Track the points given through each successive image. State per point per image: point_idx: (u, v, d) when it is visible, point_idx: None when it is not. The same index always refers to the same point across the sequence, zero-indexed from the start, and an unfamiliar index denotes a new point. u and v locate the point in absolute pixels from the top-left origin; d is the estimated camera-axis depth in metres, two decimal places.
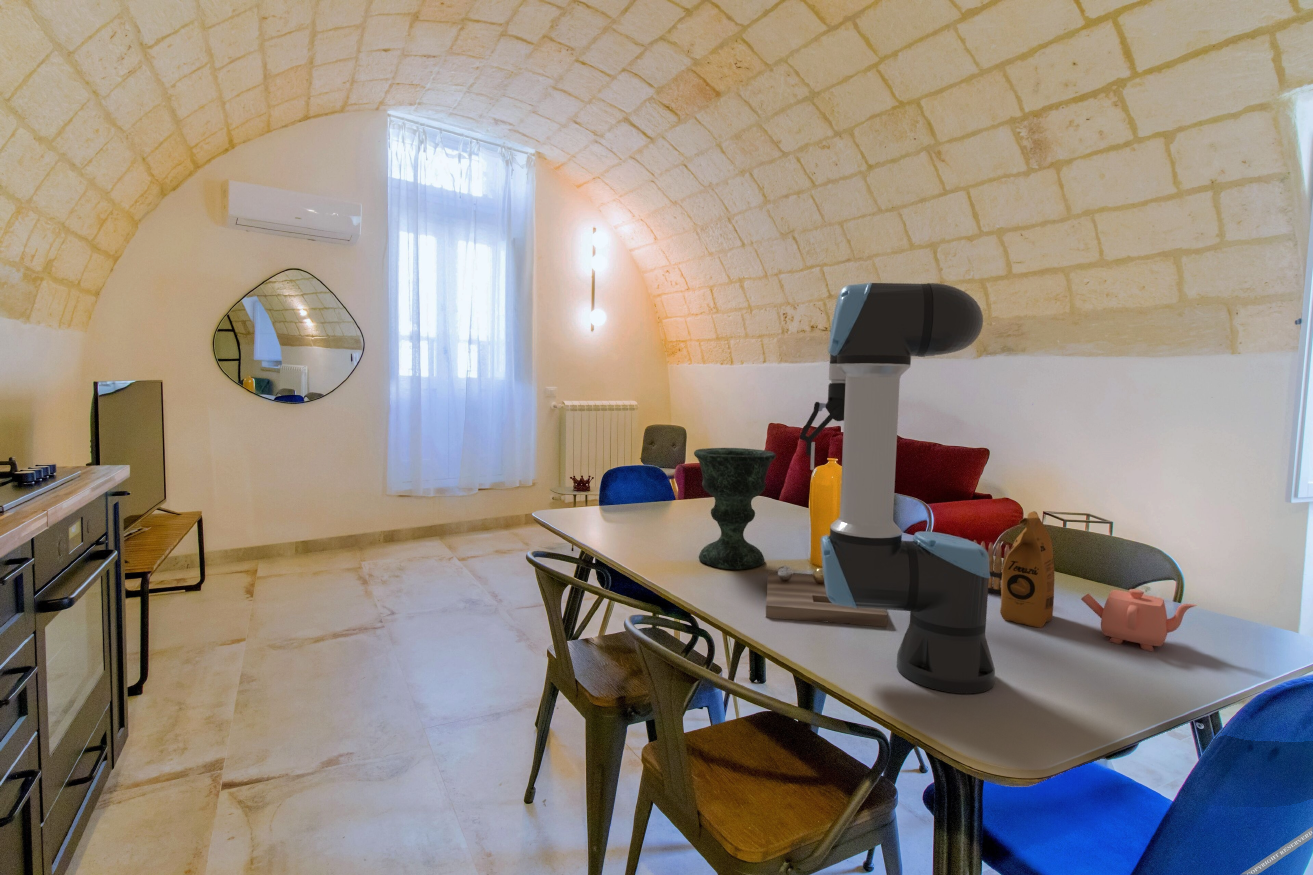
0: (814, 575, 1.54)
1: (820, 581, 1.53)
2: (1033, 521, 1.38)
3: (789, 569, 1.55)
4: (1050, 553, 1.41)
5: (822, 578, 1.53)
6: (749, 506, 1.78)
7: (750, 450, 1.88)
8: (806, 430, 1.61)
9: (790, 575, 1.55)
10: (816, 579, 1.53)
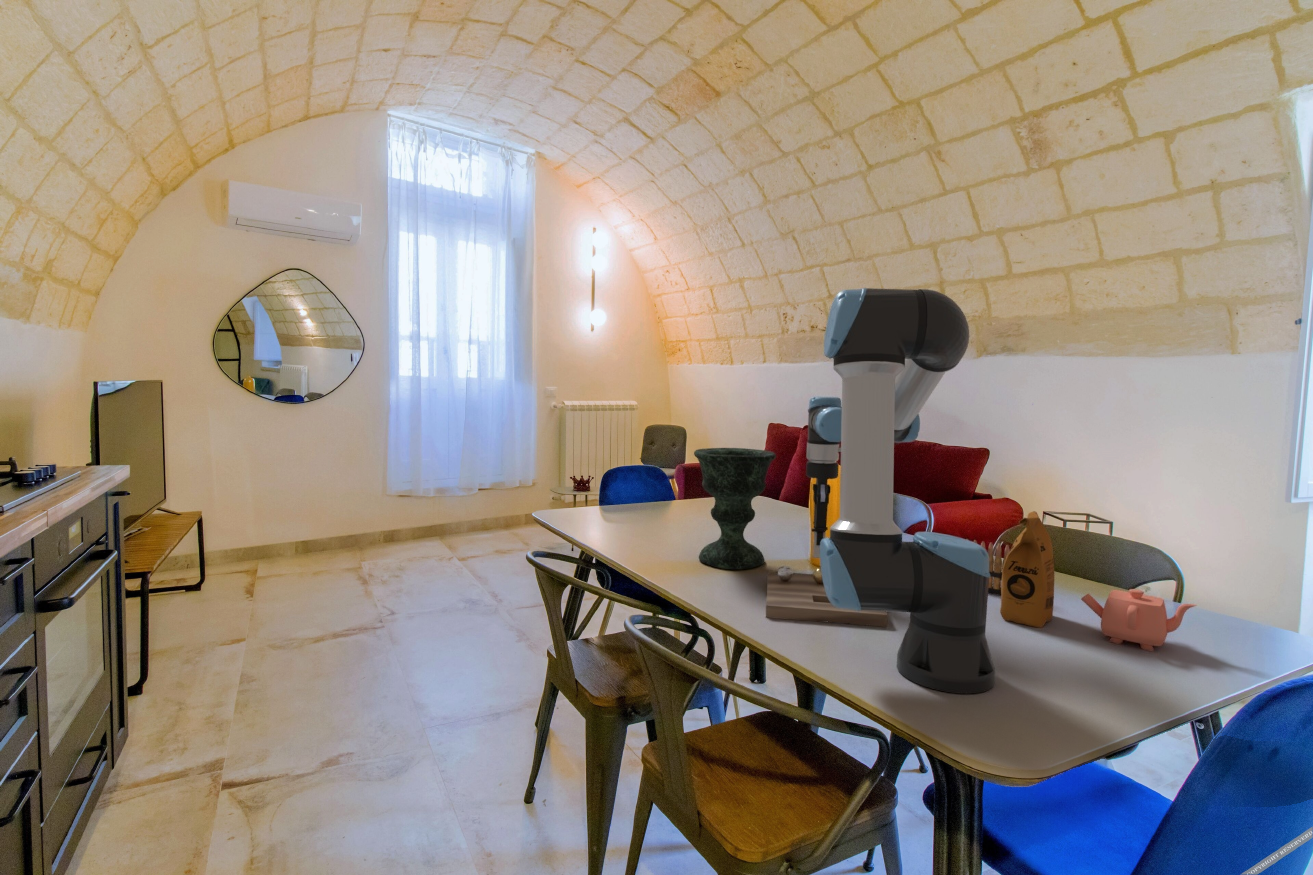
0: (814, 575, 1.54)
1: (820, 581, 1.53)
2: (1033, 521, 1.38)
3: (789, 569, 1.55)
4: (1050, 553, 1.41)
5: (822, 578, 1.53)
6: (749, 506, 1.78)
7: (750, 450, 1.88)
8: (814, 514, 1.65)
9: (790, 575, 1.55)
10: (816, 579, 1.53)
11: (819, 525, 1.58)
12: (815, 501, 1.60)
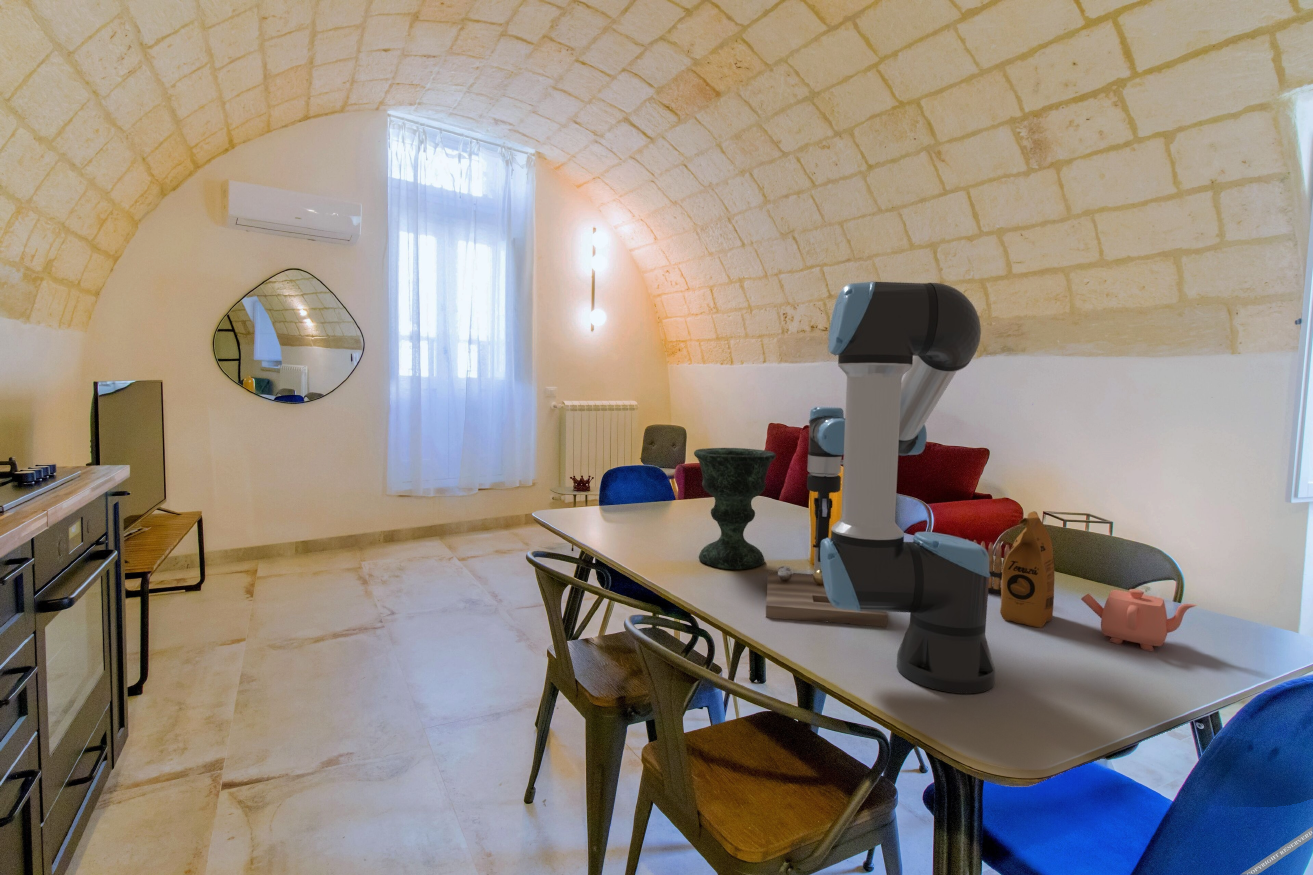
0: (814, 578, 1.53)
1: (820, 584, 1.53)
2: (1033, 521, 1.38)
3: (789, 569, 1.55)
4: (1050, 553, 1.41)
5: (822, 582, 1.52)
6: (749, 506, 1.78)
7: (750, 450, 1.88)
8: (815, 529, 1.59)
9: (790, 575, 1.55)
10: (816, 582, 1.53)
11: (821, 541, 1.51)
12: (816, 516, 1.53)
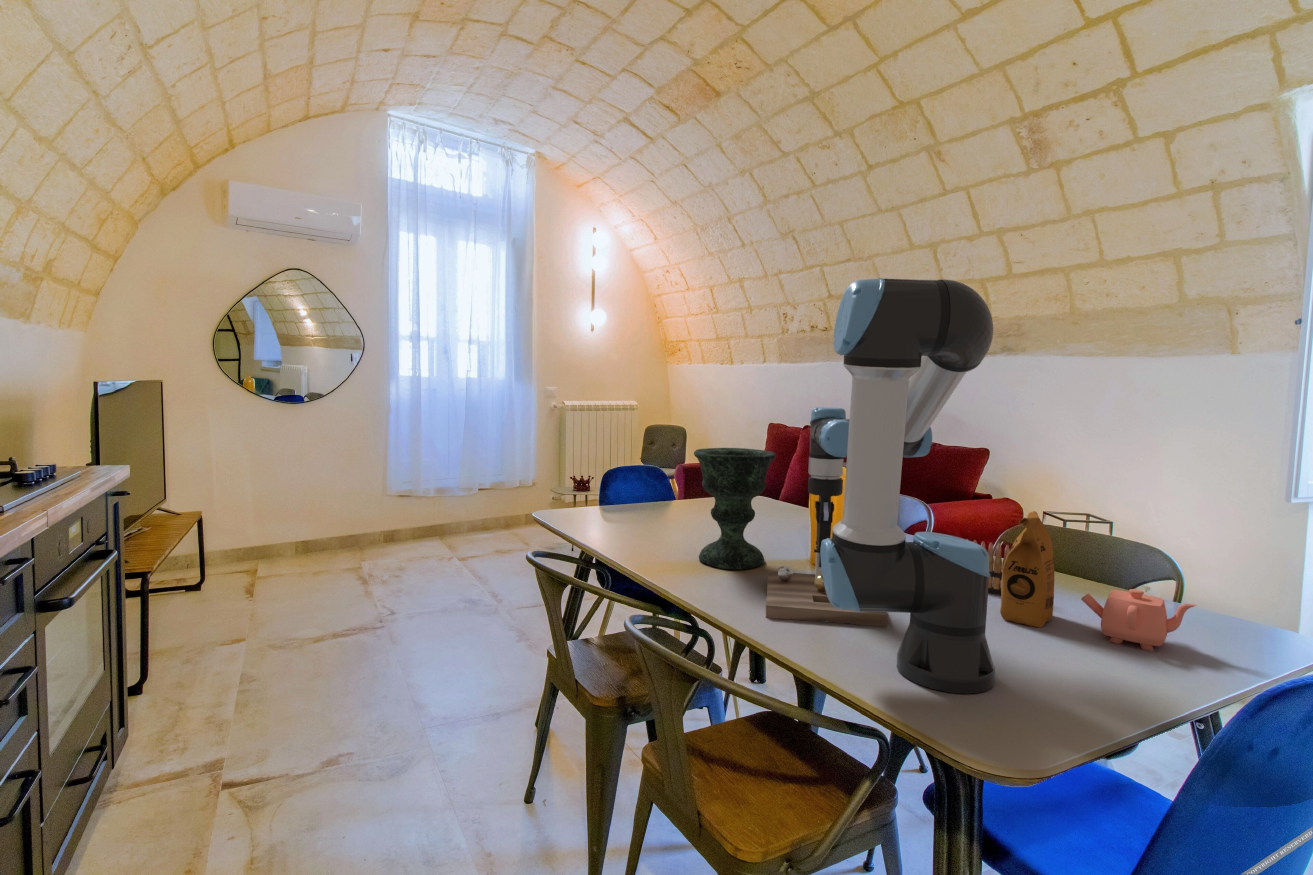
0: None
1: None
2: (1033, 521, 1.38)
3: (789, 569, 1.55)
4: (1050, 553, 1.41)
5: None
6: (749, 506, 1.78)
7: (750, 450, 1.88)
8: None
9: (790, 575, 1.55)
10: None
11: None
12: (818, 520, 1.49)
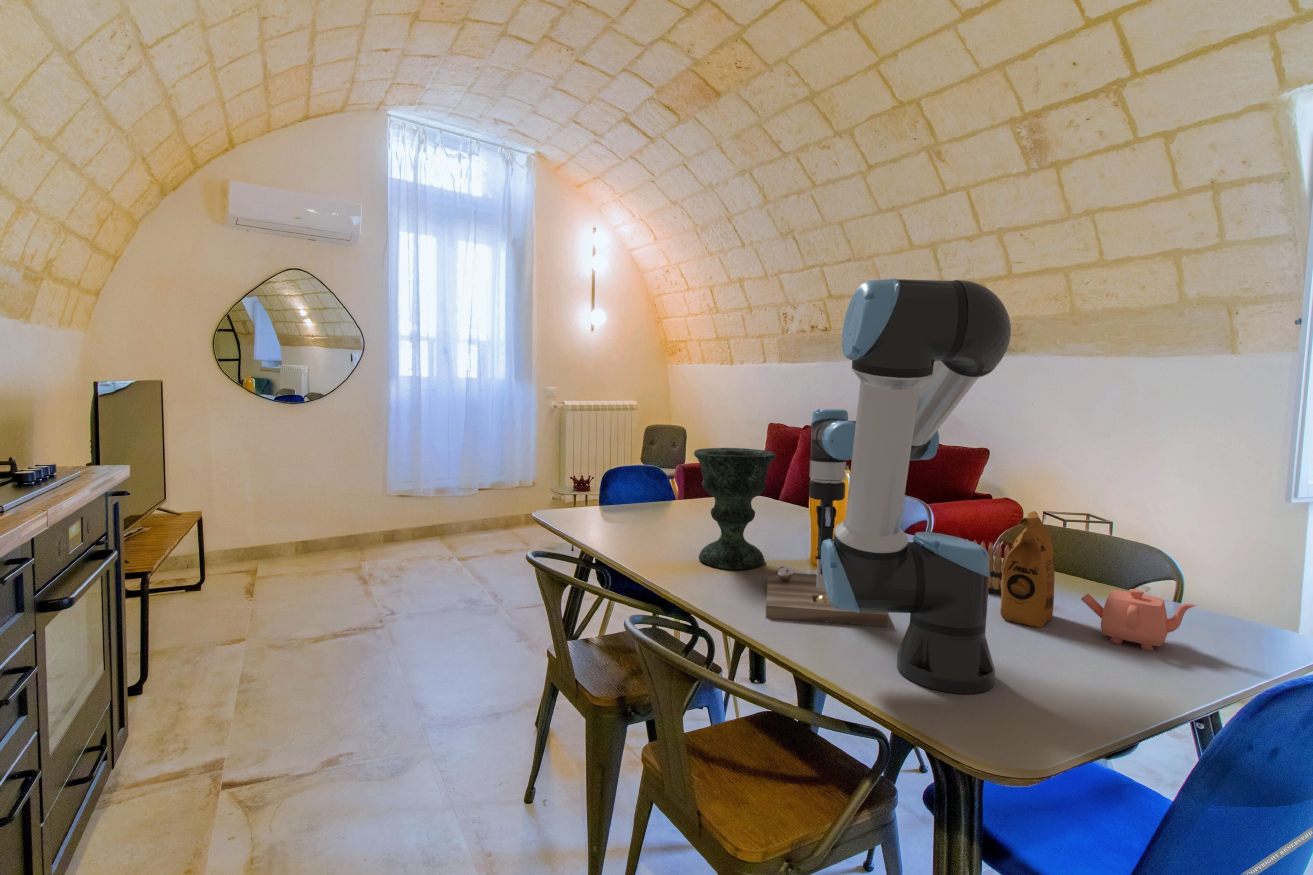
0: None
1: None
2: (1033, 521, 1.38)
3: (789, 569, 1.55)
4: (1050, 553, 1.41)
5: None
6: (749, 506, 1.78)
7: (750, 450, 1.88)
8: (818, 539, 1.49)
9: (790, 575, 1.55)
10: None
11: None
12: (819, 525, 1.43)
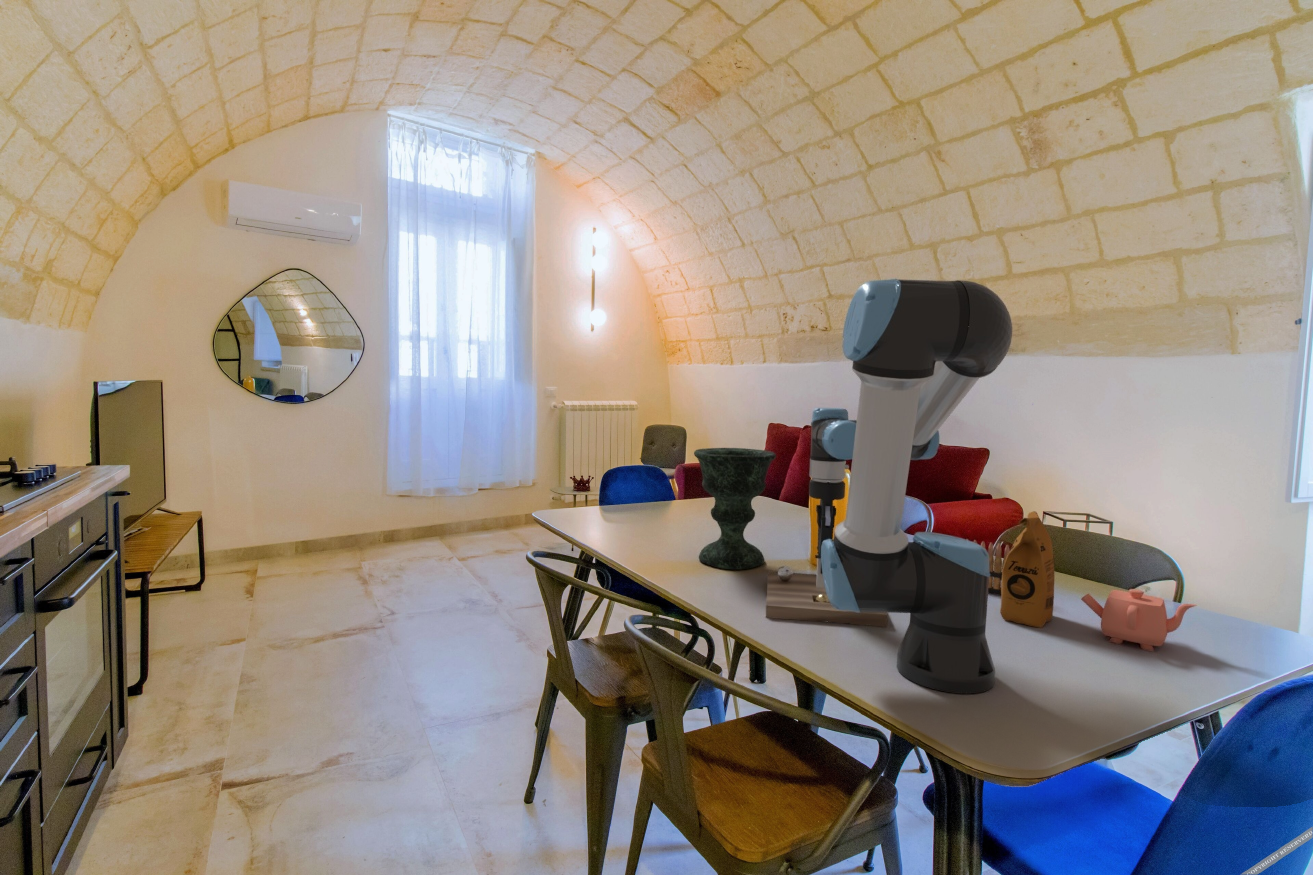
0: None
1: None
2: (1033, 521, 1.38)
3: (789, 569, 1.55)
4: (1050, 553, 1.41)
5: None
6: (749, 506, 1.78)
7: (750, 450, 1.88)
8: None
9: (790, 575, 1.55)
10: None
11: None
12: (819, 524, 1.43)
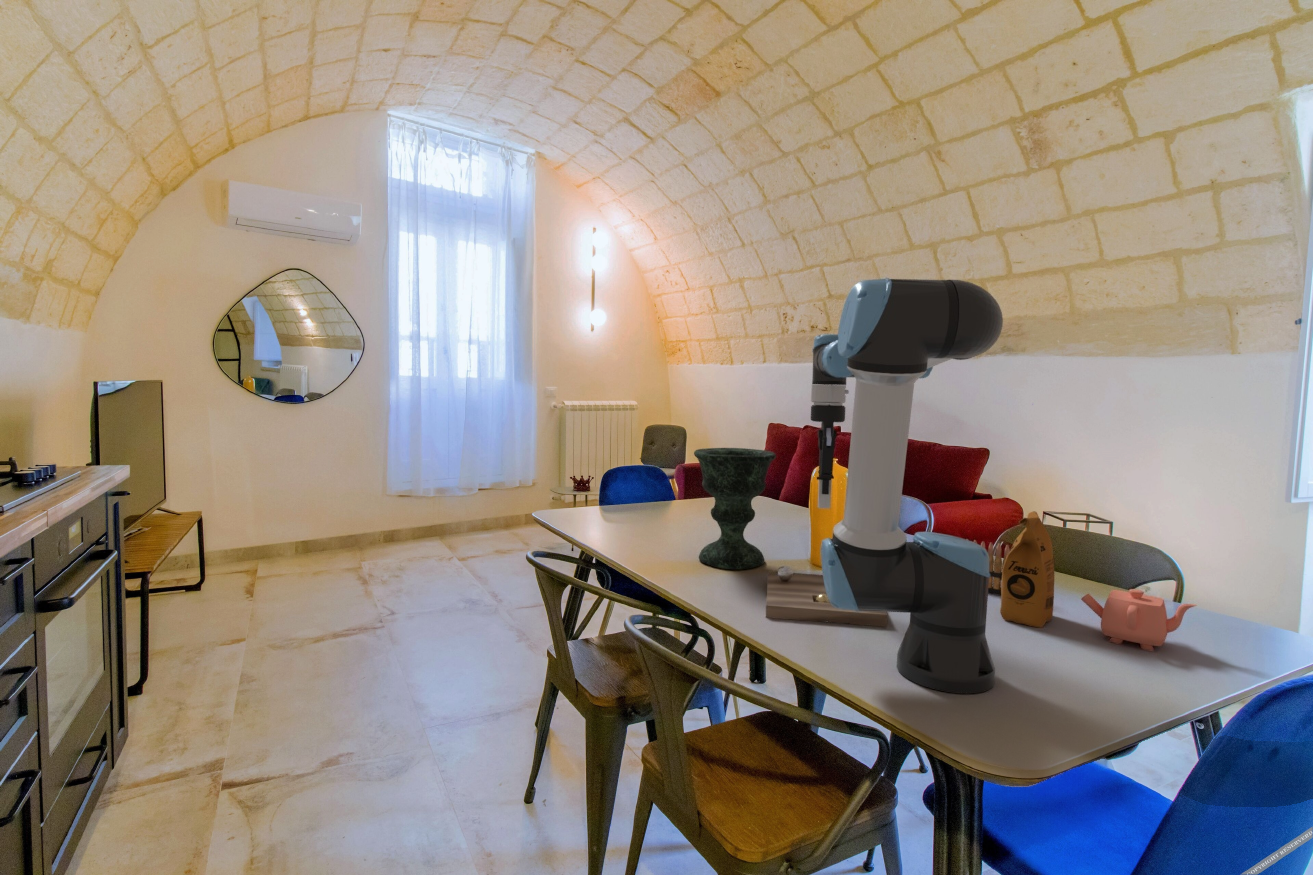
0: None
1: None
2: (1033, 521, 1.38)
3: (789, 569, 1.55)
4: (1050, 553, 1.41)
5: None
6: (749, 506, 1.78)
7: (750, 450, 1.88)
8: (819, 463, 1.55)
9: (790, 575, 1.55)
10: None
11: (825, 471, 1.48)
12: (820, 447, 1.50)
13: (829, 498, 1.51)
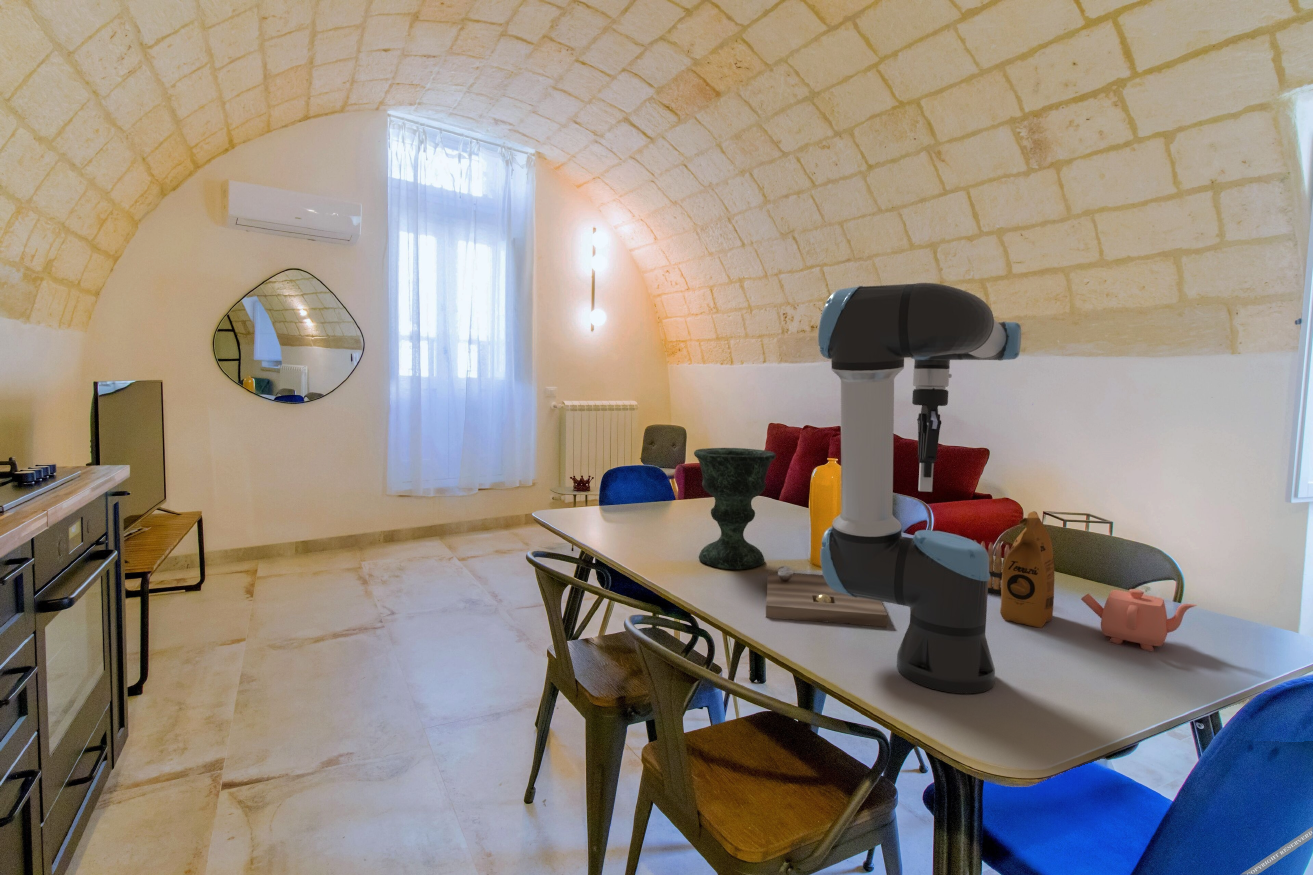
0: None
1: None
2: (1033, 521, 1.38)
3: (789, 569, 1.55)
4: (1050, 553, 1.41)
5: None
6: (749, 506, 1.78)
7: (750, 450, 1.88)
8: (918, 447, 1.56)
9: (790, 575, 1.55)
10: None
11: (929, 455, 1.49)
12: (923, 430, 1.51)
13: (931, 481, 1.53)
